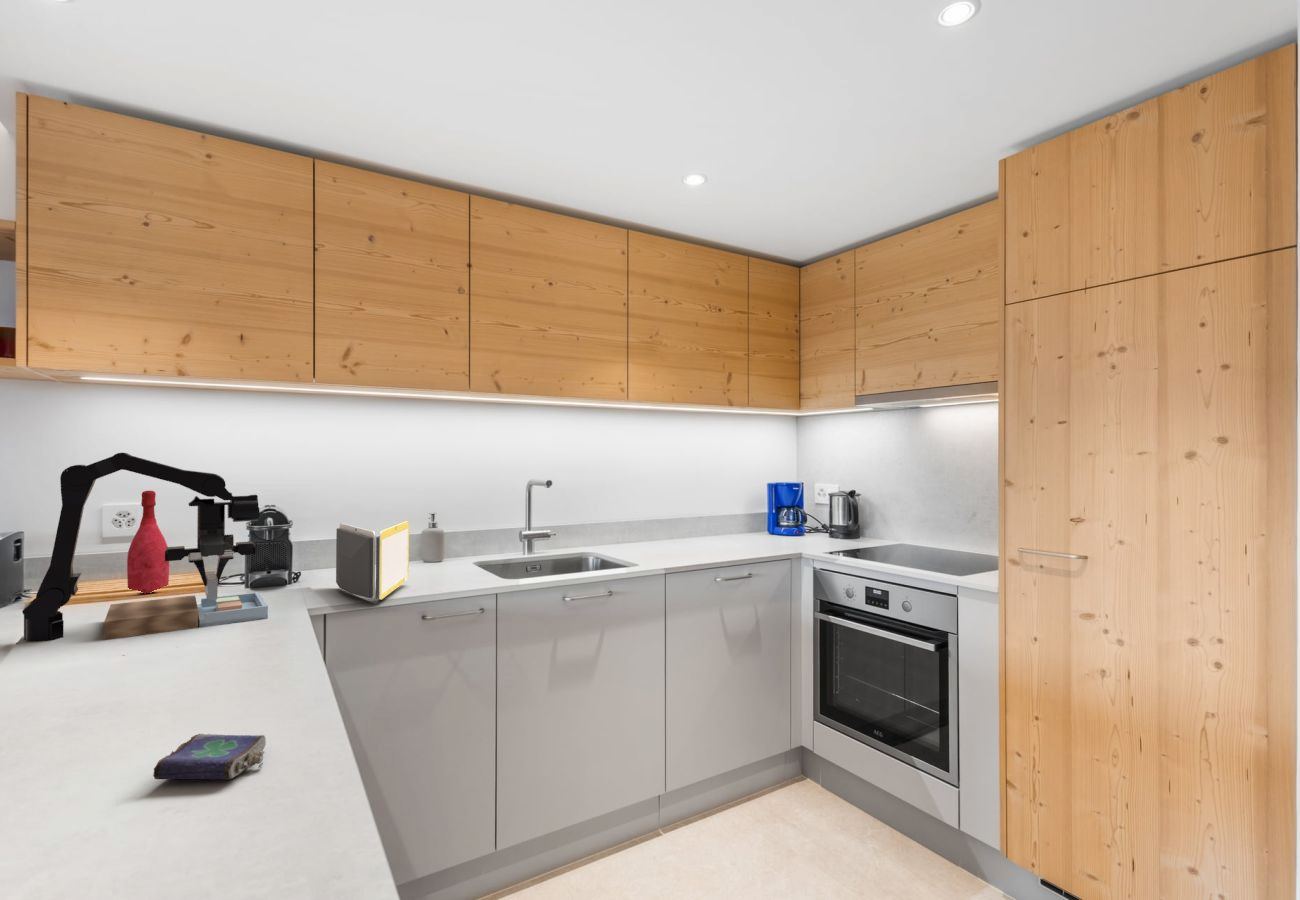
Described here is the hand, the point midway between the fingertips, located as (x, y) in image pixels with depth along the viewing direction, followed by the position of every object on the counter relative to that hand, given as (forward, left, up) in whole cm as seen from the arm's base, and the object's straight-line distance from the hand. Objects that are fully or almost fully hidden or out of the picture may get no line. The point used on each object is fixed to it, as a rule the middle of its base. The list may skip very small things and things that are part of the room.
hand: (211, 585), depth 163 cm
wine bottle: (-42, +23, -8) cm, 49 cm away
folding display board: (+24, +38, -8) cm, 46 cm away
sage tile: (0, +5, -5) cm, 7 cm away
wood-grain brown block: (-8, -8, -8) cm, 14 cm away
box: (+3, +3, -8) cm, 9 cm away
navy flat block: (+61, -71, -9) cm, 94 cm away
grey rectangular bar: (0, 0, -2) cm, 3 cm away
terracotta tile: (+5, 0, -5) cm, 7 cm away
